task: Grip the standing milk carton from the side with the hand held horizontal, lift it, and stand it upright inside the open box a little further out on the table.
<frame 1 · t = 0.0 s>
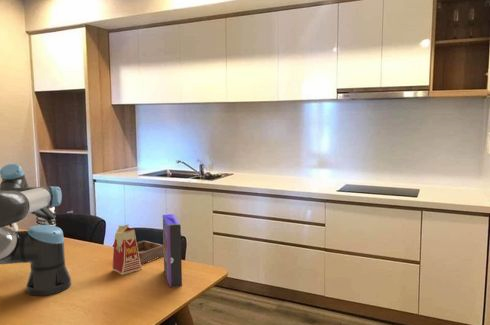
hand: (33, 229, 176), 15 cm above the table, tool tilted 35°, fingers open, 13 cm apart
open box: (143, 257, 185), on the table
cereal box: (172, 278, 161), on the table
milk carton: (126, 269, 170), on the table
spiral seashell: (47, 248, 198), on the table
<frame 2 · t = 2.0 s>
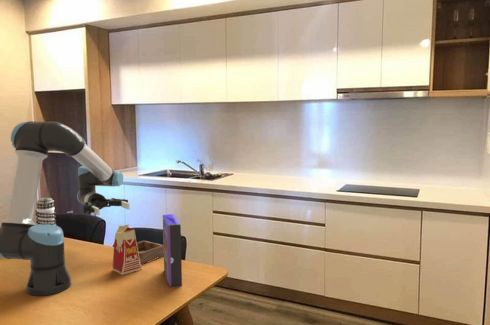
hand: (113, 209, 174), 24 cm above the table, tool horizontal, fingers open, 13 cm apart
nothing on the table moved.
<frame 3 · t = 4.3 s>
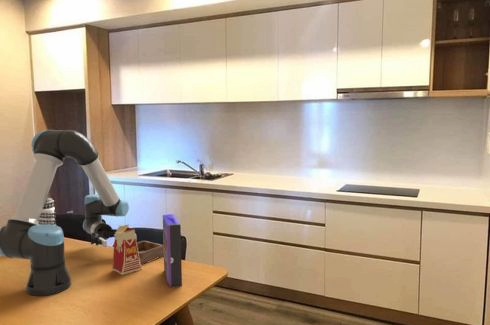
hand: (121, 240, 174), 11 cm above the table, tool horizontal, fingers open, 13 cm apart
nothing on the table moved.
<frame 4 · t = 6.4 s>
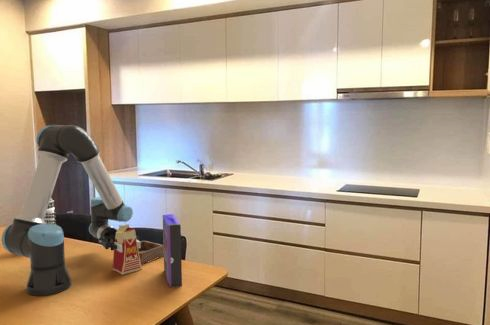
hand: (130, 246, 165), 11 cm above the table, tool horizontal, fingers closed on milk carton, 7 cm apart
milk carton: (126, 269, 170), on the table, touching gripper
everything else where it was.
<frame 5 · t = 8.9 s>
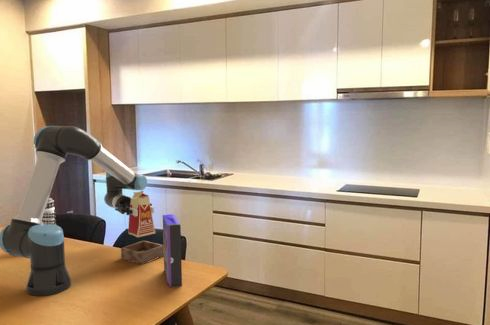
hand: (145, 211, 177), 23 cm above the table, tool horizontal, fingers closed on milk carton, 7 cm apart
milk carton: (141, 233, 182), point 12 cm above the table, touching gripper
everything else where it was.
when the fingers open (13 cm above the table, at t = 11.1 s): milk carton drops 1 cm, resting on open box.
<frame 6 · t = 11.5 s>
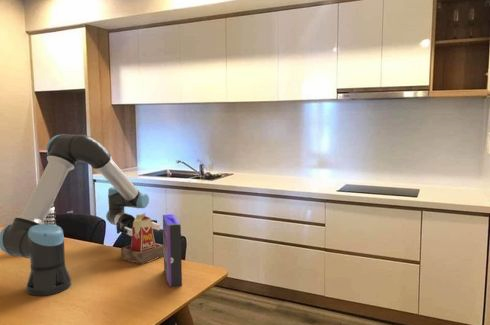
hand: (145, 230, 181), 13 cm above the table, tool horizontal, fingers open, 13 cm apart
milk carton: (143, 255, 185), point 1 cm above the table, touching open box
everything else where it was.
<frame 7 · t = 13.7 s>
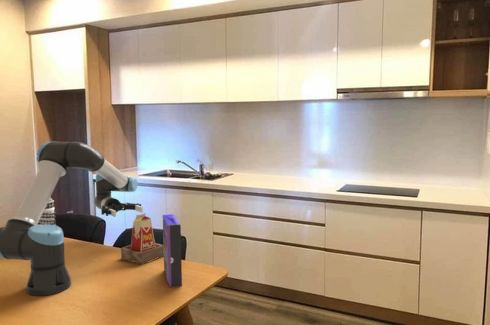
hand: (128, 211, 191), 19 cm above the table, tool horizontal, fingers open, 13 cm apart
nothing on the table moved.
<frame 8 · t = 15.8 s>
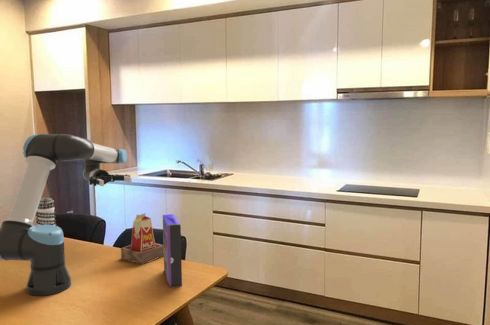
hand: (117, 181, 189), 34 cm above the table, tool horizontal, fingers open, 13 cm apart
nothing on the table moved.
at the end: milk carton inside the target area on the open box (0.2 cm from its centre), point 0.8 cm above the open box's base; milk carton tilted 0°; the gripper is holding nothing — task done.
